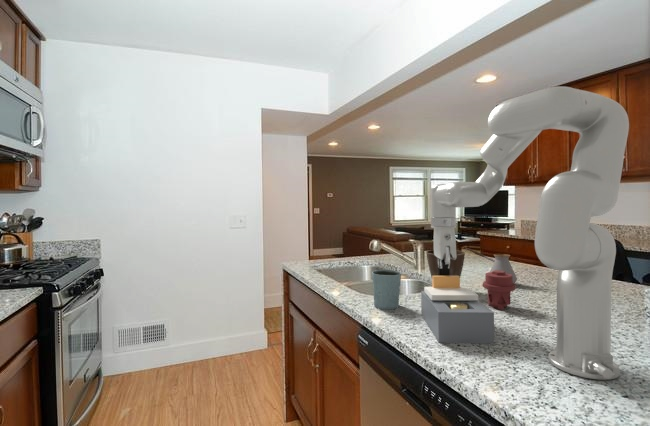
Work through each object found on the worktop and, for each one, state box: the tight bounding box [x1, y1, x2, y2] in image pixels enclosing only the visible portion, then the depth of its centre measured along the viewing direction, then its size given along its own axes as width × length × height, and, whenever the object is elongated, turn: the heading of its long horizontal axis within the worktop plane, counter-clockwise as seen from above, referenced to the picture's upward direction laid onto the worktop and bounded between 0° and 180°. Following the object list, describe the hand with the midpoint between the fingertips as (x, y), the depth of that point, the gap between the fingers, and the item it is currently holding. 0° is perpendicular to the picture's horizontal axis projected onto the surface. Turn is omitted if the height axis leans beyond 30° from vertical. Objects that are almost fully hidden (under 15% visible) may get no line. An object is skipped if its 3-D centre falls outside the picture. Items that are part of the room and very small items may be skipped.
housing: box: [420, 290, 495, 344], centre depth 100 cm, size 22×14×8 cm, turn 176°
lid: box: [423, 276, 479, 301], centre depth 104 cm, size 10×13×5 cm
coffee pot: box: [464, 247, 518, 284], centre depth 154 cm, size 21×12×15 cm, turn 50°
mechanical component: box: [482, 270, 516, 311], centre depth 119 cm, size 12×10×10 cm
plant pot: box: [425, 249, 466, 278], centre depth 141 cm, size 15×15×16 cm
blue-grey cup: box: [371, 269, 402, 311], centre depth 123 cm, size 10×10×12 cm
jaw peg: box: [450, 303, 467, 309], centre depth 96 cm, size 4×4×6 cm
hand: (443, 280), depth 111 cm, fingers closed
